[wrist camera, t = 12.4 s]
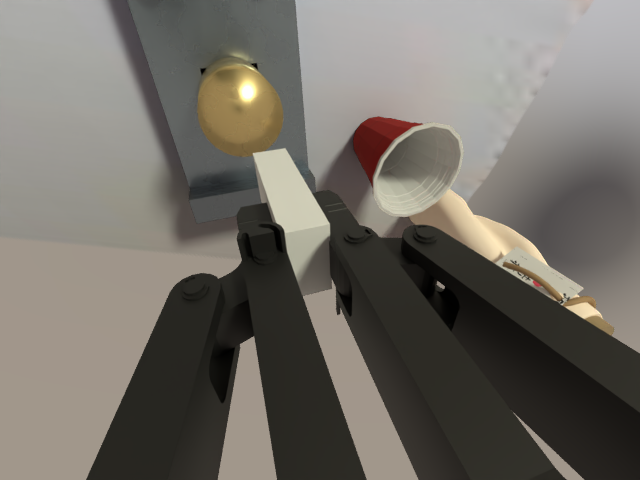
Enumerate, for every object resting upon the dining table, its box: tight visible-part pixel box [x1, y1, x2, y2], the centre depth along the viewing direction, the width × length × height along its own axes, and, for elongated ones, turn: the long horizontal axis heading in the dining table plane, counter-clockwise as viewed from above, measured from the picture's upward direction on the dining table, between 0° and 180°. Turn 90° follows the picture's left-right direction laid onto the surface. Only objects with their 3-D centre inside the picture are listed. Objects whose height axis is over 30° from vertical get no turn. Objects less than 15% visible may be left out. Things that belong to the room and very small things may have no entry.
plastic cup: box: [353, 117, 464, 217], centre depth 38 cm, size 11×11×12 cm
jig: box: [127, 0, 316, 224], centre depth 32 cm, size 24×14×6 cm, turn 4°
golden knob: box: [197, 57, 283, 157], centre depth 30 cm, size 7×7×10 cm
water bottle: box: [409, 189, 614, 335], centre depth 41 cm, size 10×9×28 cm
